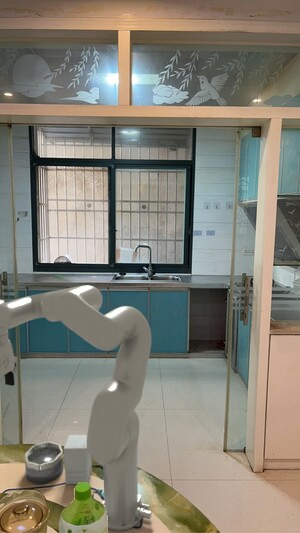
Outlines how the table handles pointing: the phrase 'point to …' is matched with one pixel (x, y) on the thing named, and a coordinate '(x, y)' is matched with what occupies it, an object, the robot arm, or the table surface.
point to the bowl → (44, 463)
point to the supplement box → (77, 459)
